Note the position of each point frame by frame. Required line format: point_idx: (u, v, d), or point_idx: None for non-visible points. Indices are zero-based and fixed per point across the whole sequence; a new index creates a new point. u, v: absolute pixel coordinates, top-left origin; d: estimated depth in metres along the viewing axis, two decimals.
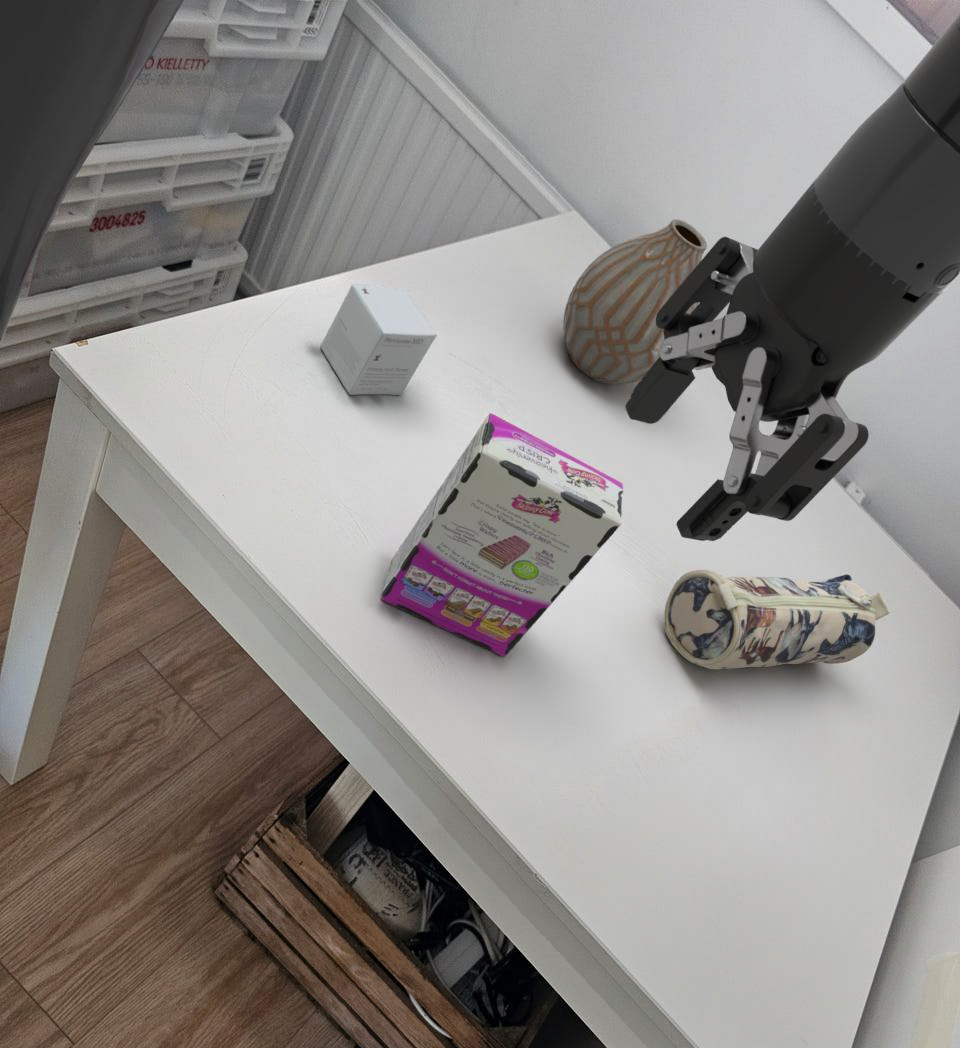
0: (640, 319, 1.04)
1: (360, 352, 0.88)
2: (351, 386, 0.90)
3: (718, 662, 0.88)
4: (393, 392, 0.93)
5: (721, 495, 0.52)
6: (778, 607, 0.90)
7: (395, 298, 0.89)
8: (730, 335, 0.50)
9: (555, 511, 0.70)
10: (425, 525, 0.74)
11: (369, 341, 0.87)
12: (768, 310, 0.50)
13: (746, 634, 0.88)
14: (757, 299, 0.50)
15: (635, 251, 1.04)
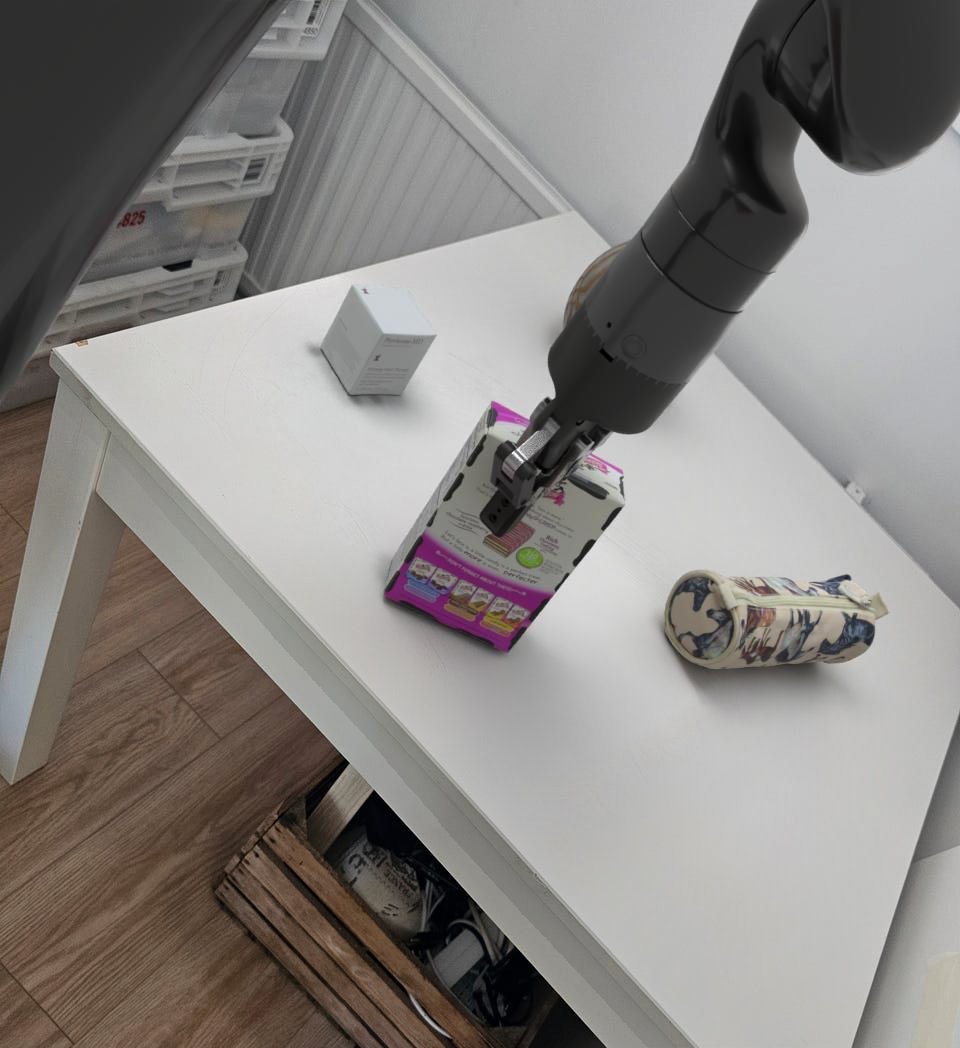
0: None
1: (360, 352, 0.88)
2: (351, 386, 0.90)
3: (718, 662, 0.88)
4: (393, 392, 0.93)
5: None
6: (778, 607, 0.90)
7: (395, 298, 0.89)
8: None
9: (560, 493, 0.71)
10: (429, 515, 0.74)
11: (369, 341, 0.87)
12: None
13: (746, 634, 0.88)
14: None
15: None
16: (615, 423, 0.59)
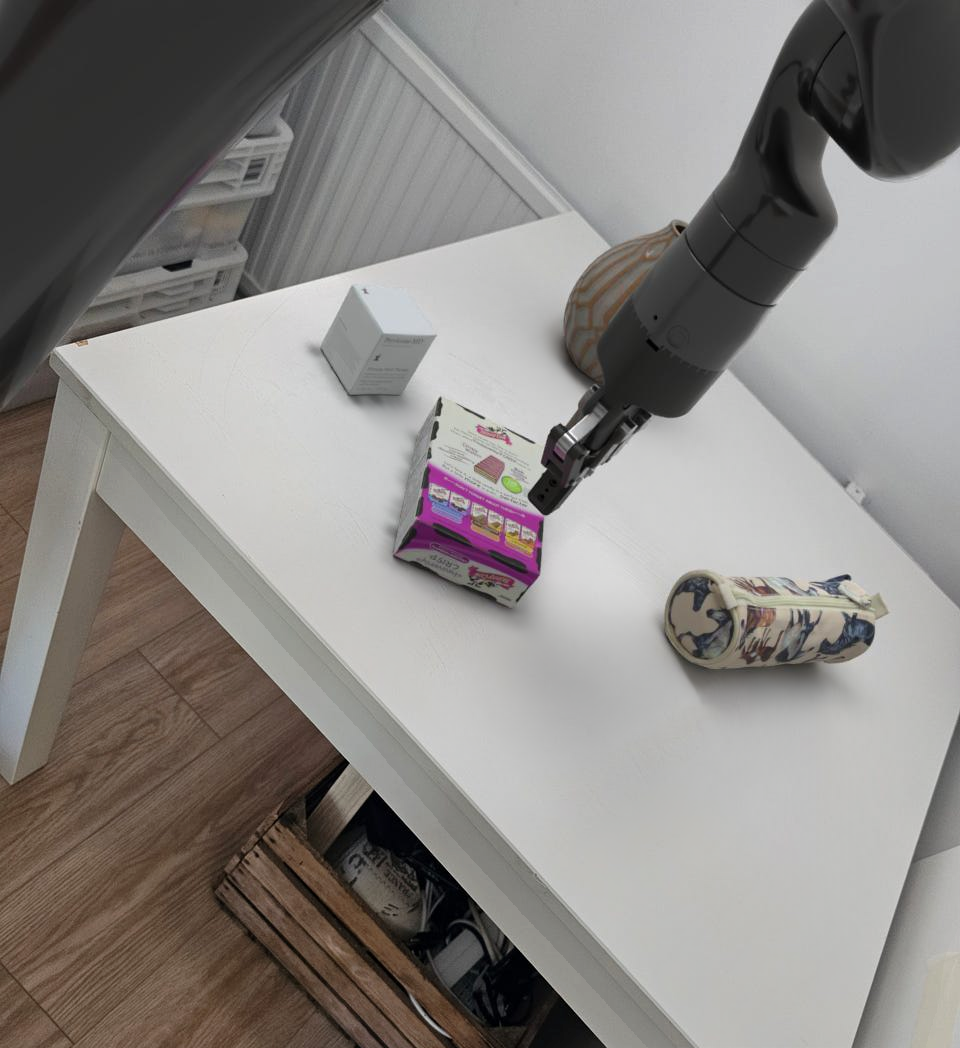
0: None
1: (360, 352, 0.88)
2: (351, 386, 0.90)
3: (718, 662, 0.88)
4: (393, 392, 0.93)
5: None
6: (778, 607, 0.90)
7: (395, 298, 0.89)
8: None
9: (506, 437, 0.90)
10: (422, 464, 0.84)
11: (369, 341, 0.87)
12: None
13: (746, 634, 0.88)
14: None
15: (635, 251, 1.04)
16: (659, 407, 0.64)
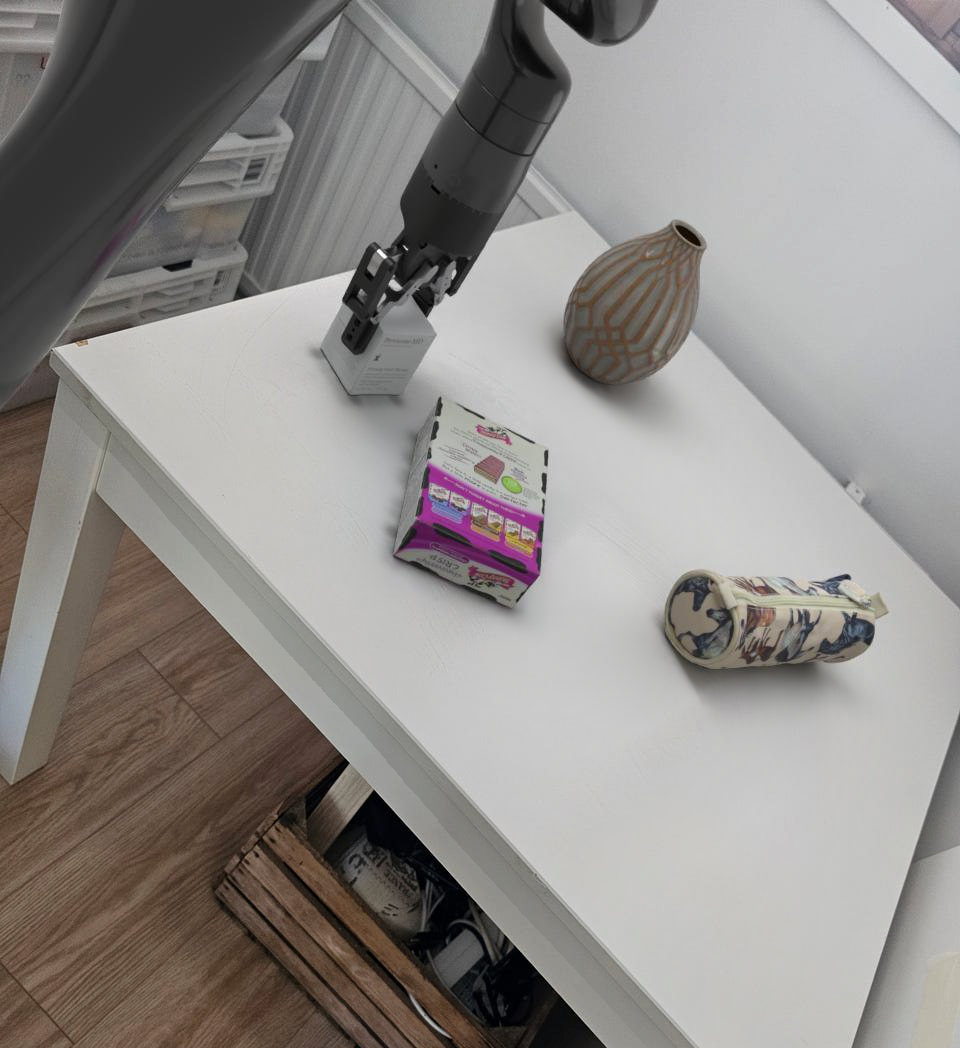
0: (640, 319, 1.04)
1: None
2: (351, 386, 0.90)
3: (718, 662, 0.88)
4: (393, 392, 0.93)
5: None
6: (778, 606, 0.90)
7: None
8: None
9: (506, 437, 0.90)
10: (422, 464, 0.84)
11: None
12: None
13: (746, 634, 0.88)
14: None
15: (635, 251, 1.04)
16: (447, 245, 0.80)
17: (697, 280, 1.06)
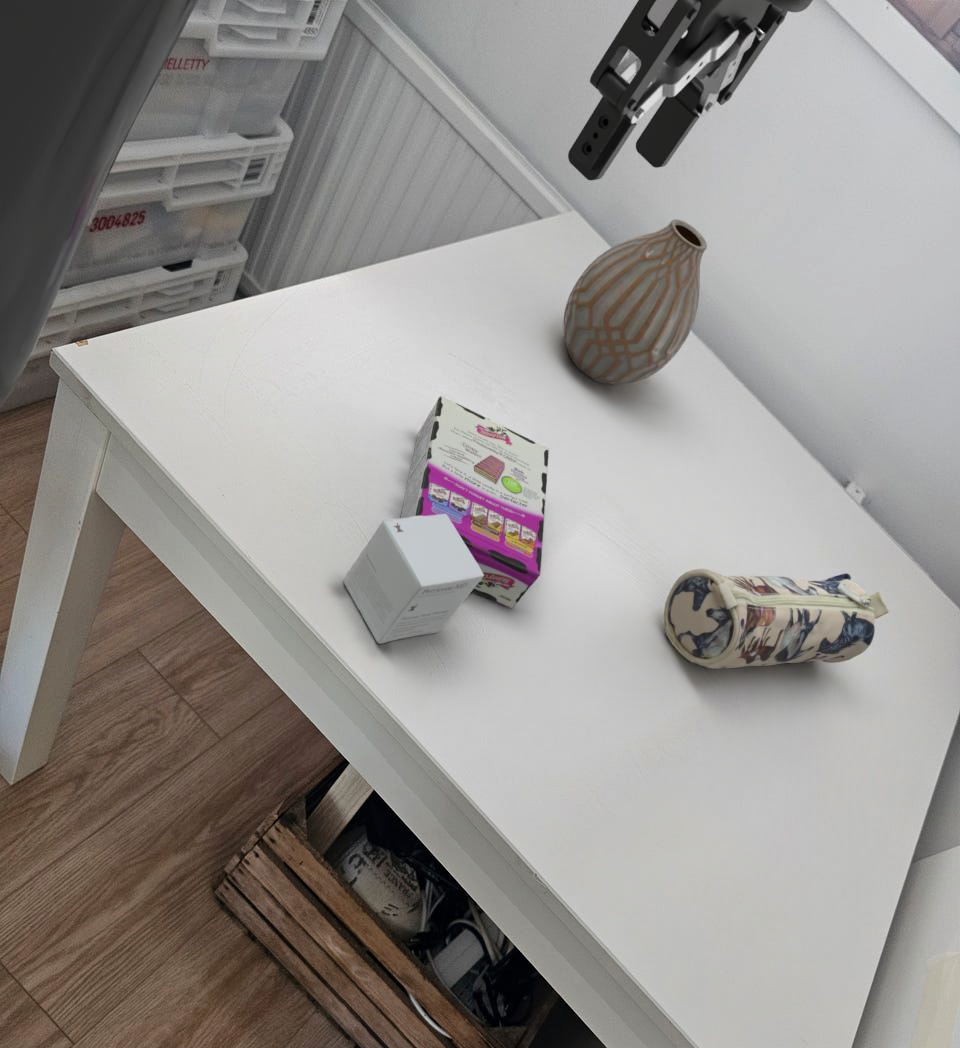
0: (640, 319, 1.04)
1: (392, 600, 0.73)
2: (381, 636, 0.75)
3: (718, 661, 0.88)
4: (429, 632, 0.78)
5: None
6: (778, 606, 0.90)
7: (434, 532, 0.74)
8: None
9: (506, 437, 0.90)
10: (422, 464, 0.84)
11: (403, 591, 0.72)
12: None
13: (746, 633, 0.88)
14: None
15: (635, 251, 1.04)
16: None
17: (697, 280, 1.06)
